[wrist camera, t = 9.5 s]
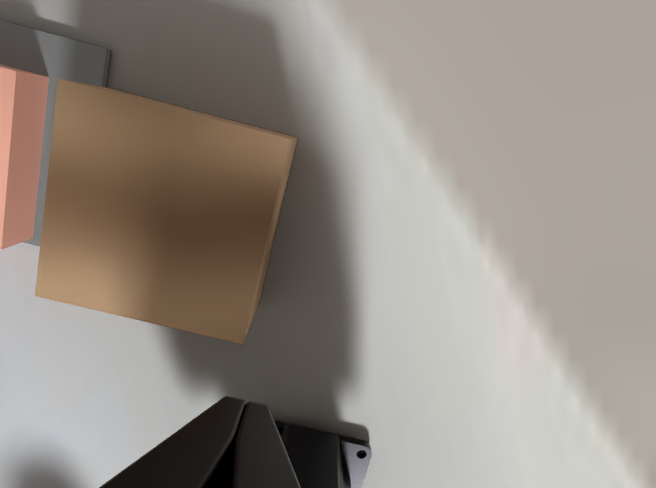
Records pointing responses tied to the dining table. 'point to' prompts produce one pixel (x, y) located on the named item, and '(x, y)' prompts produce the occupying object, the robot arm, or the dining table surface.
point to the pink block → (20, 151)
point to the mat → (51, 81)
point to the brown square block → (159, 211)
